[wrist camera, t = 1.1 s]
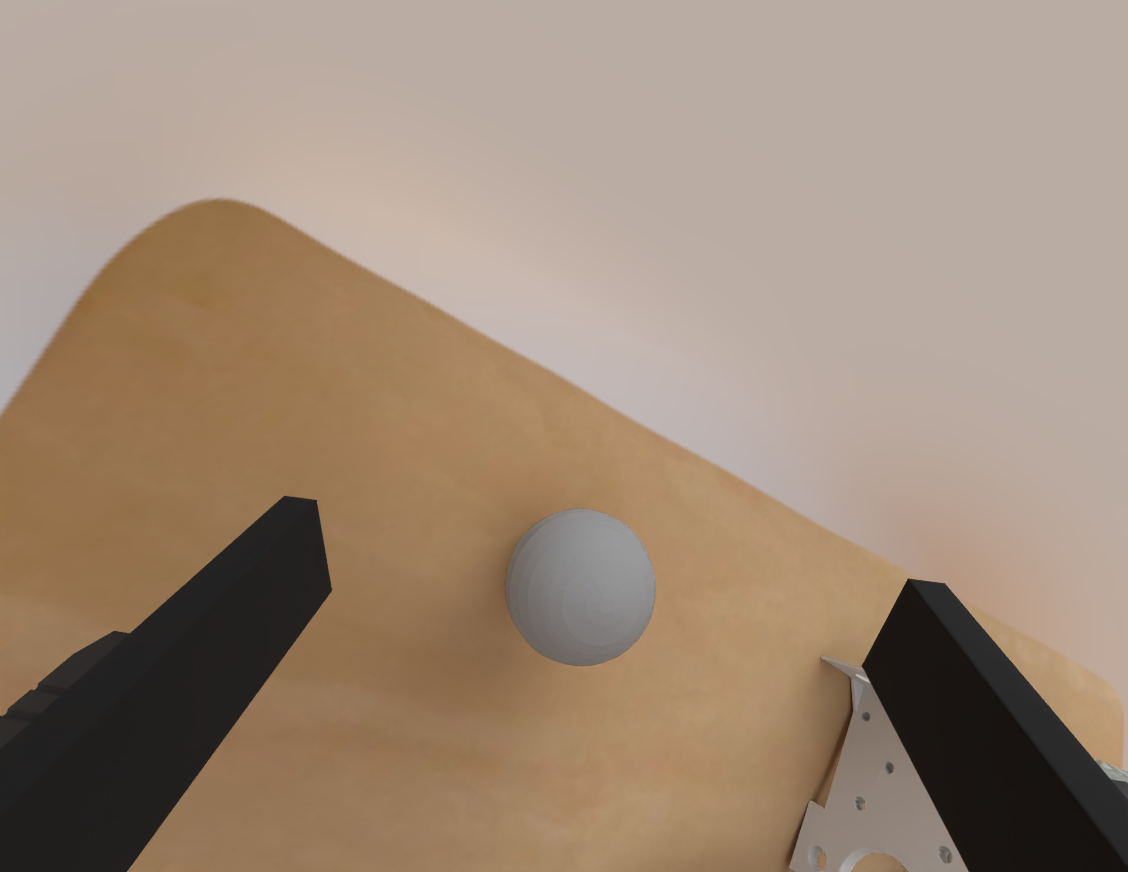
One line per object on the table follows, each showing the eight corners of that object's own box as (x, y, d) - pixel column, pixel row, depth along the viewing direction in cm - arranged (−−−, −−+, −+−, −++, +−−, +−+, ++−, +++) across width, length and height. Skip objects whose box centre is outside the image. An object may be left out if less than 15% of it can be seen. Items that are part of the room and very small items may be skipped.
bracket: (808, 650, 30) (994, 710, 21) (855, 682, 31) (1054, 751, 22) (742, 843, 27) (932, 1016, 18) (798, 872, 28) (1006, 1051, 18)
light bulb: (490, 489, 24) (532, 511, 15) (593, 500, 26) (691, 525, 16) (476, 600, 24) (510, 696, 14) (581, 604, 25) (676, 694, 16)
